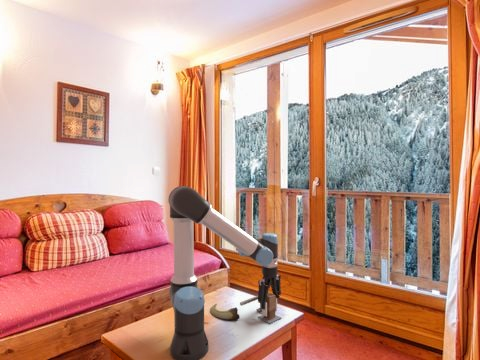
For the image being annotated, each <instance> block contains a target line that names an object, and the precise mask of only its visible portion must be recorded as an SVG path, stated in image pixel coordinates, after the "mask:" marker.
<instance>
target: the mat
mask: <svg viewBox="0 0 480 360" xmlns="http://www.w3.org/2000/svg"><path fill="white" fill-rule="evenodd" d="M257 318H258V319H259V320H261V321H263V322H265V323H267V324H268V325H271V324H273V322H274V323H276V322H277V320H278V321H279V319H280V320H281V319H282V316H279V315H277V314H275V318H273V319H271V320H269V319H267V318H265V317H264V315H262V314H261V315H258V316H257ZM275 321H276V322H275Z"/></svg>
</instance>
